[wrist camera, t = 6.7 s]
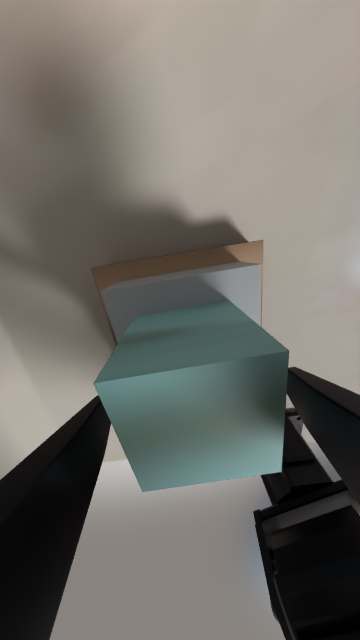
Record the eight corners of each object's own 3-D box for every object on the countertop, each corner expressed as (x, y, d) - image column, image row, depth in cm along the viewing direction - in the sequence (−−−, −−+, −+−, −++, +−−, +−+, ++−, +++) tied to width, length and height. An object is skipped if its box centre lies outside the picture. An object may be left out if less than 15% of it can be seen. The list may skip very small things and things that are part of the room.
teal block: (234, 376, 11) (281, 471, 6) (156, 389, 11) (142, 492, 6) (229, 299, 9) (288, 350, 4) (134, 316, 9) (93, 383, 4)
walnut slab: (246, 359, 17) (260, 380, 15) (140, 375, 18) (133, 398, 15) (244, 242, 13) (263, 239, 11) (107, 265, 14) (90, 268, 11)
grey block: (242, 363, 14) (259, 391, 11) (146, 378, 14) (139, 408, 11) (239, 261, 11) (261, 264, 8) (118, 281, 11) (100, 291, 9)
